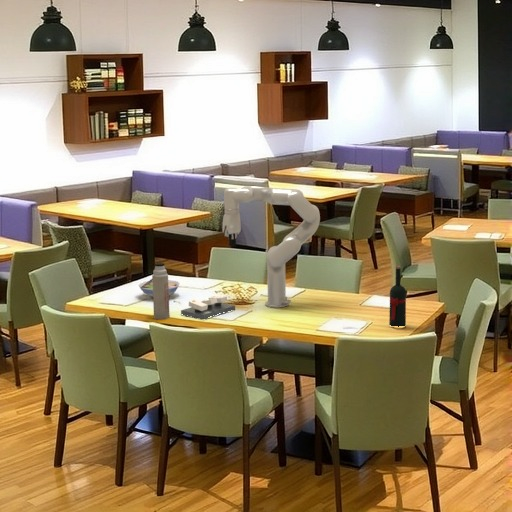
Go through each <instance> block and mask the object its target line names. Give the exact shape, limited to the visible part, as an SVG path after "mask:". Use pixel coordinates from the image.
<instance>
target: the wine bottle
mask: <svg viewBox="0 0 512 512" xmlns="http://www.w3.org/2000/svg"><path fill="white" fill-rule="evenodd" d="M406 313H407V290H406V288H405V287H404V286H403V285H402V284H401V265H396V266H395V285H393V286H392V287H391V288H390V290H389V317H388V318H389V320H388V321H389V323H388V325H391V326H398V327H399V326H405V325H406V326H407V323H406V321H407V320H406V318H407V317H406V315H407V314H406Z"/></svg>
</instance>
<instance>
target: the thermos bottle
mask: <svg viewBox="0 0 512 512" xmlns="http://www.w3.org/2000/svg"><path fill="white" fill-rule="evenodd" d="M152 273H153V274H151V275H152V277H151V279H152V282H153V297H152V301H153V306H152V307H153V319H156V320H166V319H169V318H170V314H171V313H170V295H169V287H168V280H169V273H167V269H166V268H165V263H164V262H163V263H162V262H158V263H157V262H156V263H154V269H153V271H152Z"/></svg>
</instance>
